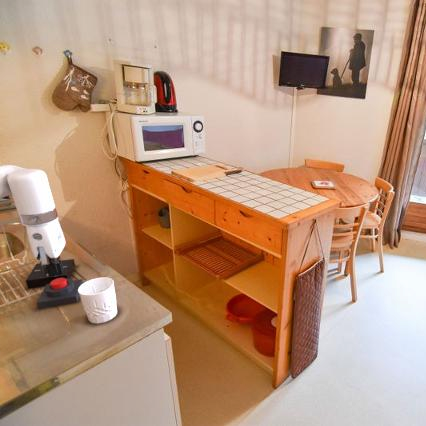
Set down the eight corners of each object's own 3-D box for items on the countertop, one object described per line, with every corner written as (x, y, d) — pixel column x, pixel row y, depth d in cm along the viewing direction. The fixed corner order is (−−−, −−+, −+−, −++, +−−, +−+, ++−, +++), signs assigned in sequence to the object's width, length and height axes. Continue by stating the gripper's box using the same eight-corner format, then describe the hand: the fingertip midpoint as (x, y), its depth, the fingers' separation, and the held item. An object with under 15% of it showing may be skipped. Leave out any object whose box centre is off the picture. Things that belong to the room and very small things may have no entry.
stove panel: (27, 288, 96) (24, 280, 95) (38, 271, 104) (36, 263, 103) (68, 282, 100) (66, 274, 99) (75, 266, 108) (73, 258, 107)
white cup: (102, 328, 84) (94, 297, 80) (78, 321, 86) (70, 290, 82) (126, 309, 91) (120, 280, 87) (104, 303, 93) (97, 274, 89)
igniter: (38, 308, 89) (34, 297, 87) (48, 290, 96) (44, 279, 94) (77, 302, 92) (74, 291, 91) (84, 284, 100) (81, 274, 98)
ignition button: (50, 290, 91) (48, 285, 90) (53, 283, 94) (52, 278, 93) (65, 288, 92) (64, 283, 91) (68, 281, 95) (67, 276, 94)
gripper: (48, 226, 79) (66, 286, 86) (64, 204, 92) (78, 259, 99) (9, 229, 76) (31, 292, 83) (31, 207, 89) (48, 263, 96)
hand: (56, 274), depth 91 cm, fingers closed
